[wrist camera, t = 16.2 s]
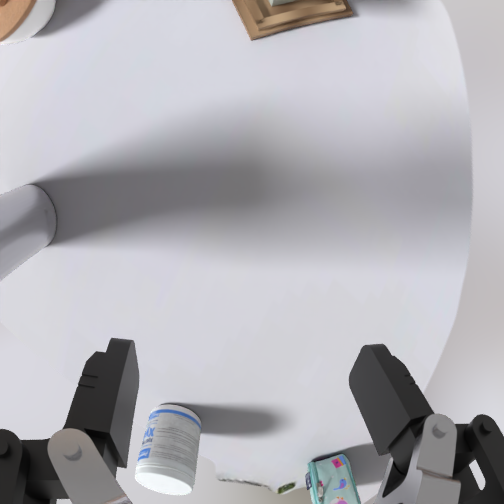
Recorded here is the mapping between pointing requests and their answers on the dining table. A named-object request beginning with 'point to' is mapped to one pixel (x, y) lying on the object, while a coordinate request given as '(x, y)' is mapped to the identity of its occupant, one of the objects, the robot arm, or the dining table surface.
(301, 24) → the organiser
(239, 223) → the dining table surface
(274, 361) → the dining table surface
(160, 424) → the supplement tub
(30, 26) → the lidded jar
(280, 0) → the sage block
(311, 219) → the dining table surface
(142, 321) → the dining table surface
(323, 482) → the lunch box
